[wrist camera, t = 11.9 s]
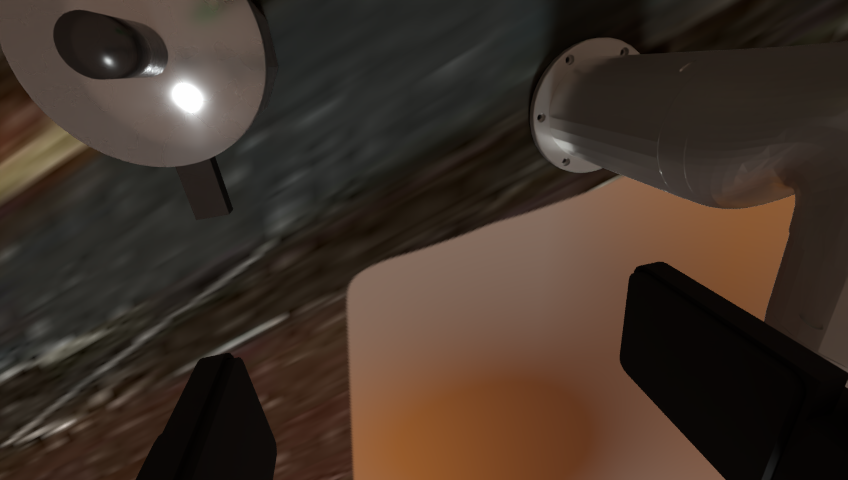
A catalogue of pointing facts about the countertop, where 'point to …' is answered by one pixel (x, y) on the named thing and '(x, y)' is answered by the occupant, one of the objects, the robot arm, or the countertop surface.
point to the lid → (141, 72)
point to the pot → (205, 176)
